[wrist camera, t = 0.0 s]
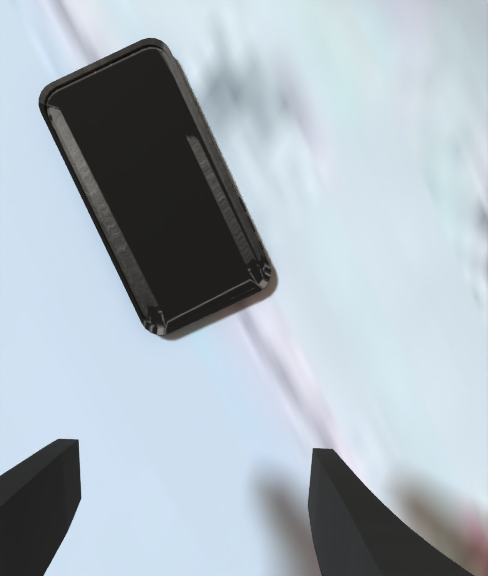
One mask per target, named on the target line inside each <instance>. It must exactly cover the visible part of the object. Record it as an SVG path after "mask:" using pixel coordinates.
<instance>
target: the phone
mask: <svg viewBox="0 0 488 576" xmlns="http://www.w3.org/2000/svg"><path fill="white" fill-rule="evenodd" d="M39 108H40V111H41V114H42V116H43V118H44V120H45V122H46V124H47V126H48V128H49V130H50V133H51V135H52V137H53V139H54V141H55V143H56V145H57V147H58V149H59V151H60V153H61V156H62V158H63V160H64V162H65V164H66V166H67V168H68V170H69V172H70V174H71V176H72V179H73V181H74V183H75V185H76V187H77V189H78V191H79V193H80V195H81V197H82V199H83V201H84V204H85V206H86V208H87V210H88V212H89V214H90V216H91V218H92V220H93V222H94V224H95V227H96V229H97V231H98V233H99V235H100V237H101V239H102V241H103V243H104V245H105V247H106V250H107V252H108V254H109V256H110V258H111V260H112V262H113V264H114V266H115V268H116V270H117V272H118V275H119V277H120V279H121V281H122V283H123V285H124V287H125V289H126V291H127V293H128V295H129V298H130V300H131V302H132V304H133V306H134V308H135V310H136V312H137V314H138V316H139V318H140V321H141V323H142V324H143V326H144V327H145V329H147V330H148V331H149V332H151V333H153V334H156V335H166V334H169V333H171V332H174V331H176V330H178V329H180V328H182V327H184V326H187V325H189V324H191V323H193V322H195V321H197V320H199V319H202V318H204V317H206V316H208V315H210V314H212V313H214V312H217V311H219V310H221V309H223V308H225V307H227V306H230V305H232V304H234V303H236V302H238V301H240V300H242V299H245V298H247V297H249V296H251V295H253V294H255V293H257V292H259V291H261V290H262V289H264V288H265V287H266V285H267V284H268V282H269V280H270V277H271V269H270V266H269V263H268V261H267V259H266V256H265V254H264V252H263V248H262V246H261V244H260V241H258V239H257V237H256V235H255V233H254V232H255V230H254V228H253V226H252V223H251V221H250V219H249V217H248V216H247V215H246V213H245V212H246V210H245V207H244V205H243V203H242V201H241V199H240V197H239V198H238V196H237V194H236V192H235V189H234V187H233V185H232V183H231V181H230V179H229V176H228V174H227V172H226V170H225V168H224V166H223V163H222V161H221V159H220V157H219V155H218V153H217V150H216V148H215V146H214V144H213V142H212V140H211V137H210V135H209V133H208V131H207V129H206V127H205V124H204V122H203V120H202V118H201V116H200V114H199V111H198V109H197V107H196V105H195V103H194V101H193V99H192V96H191V94H190V92H189V90H188V88H187V86H186V83H185V81H184V79H183V77H182V75H181V73H180V70H179V68H178V66H177V64H176V62H175V60H174V57H173V55H172V53H171V51H170V49H169V48H168V46H167V45H166V44H165V43H164V42H162V41H161V40H158V39H155V38H146V39H143V40H140V41H138V42H136V43H134V44H132V45H130V46H128V47H126V48H123V49H121V50H119V51H117V52H115V53H113V54H111V55H109V56H107V57H104V58H102V59H100V60H98V61H96V62H94V63H92V64H90V65H88V66H85V67H83V68H81V69H79V70H77V71H75V72H73V73H71V74H69V75H67V76H64V77H62V78H60V79H58V80H56V81H54V82H52V83H50V84H48V85H47V86H46V87H45V88H44V89H43V90H42V92H41V94H40V97H39Z"/></svg>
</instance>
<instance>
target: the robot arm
mask: <svg viewBox="0 0 488 576" xmlns="http://www.w3.org/2000/svg"><path fill="white" fill-rule="evenodd" d="M80 500H81V482H80V461H79V441H78V440H77V439H57V440H56V441H54V442H52V443H50V444H49V445H47V446H46V447H44V448H42V449H41V450H39V451H38V452H36V453H35V454H33V455H32V456H30V457H29V458H27V459H26V460H24V461H22V462H21V463H19V464H18V465H16V466H15V467H13V468H12V469H10V470H8V471H7V472H5V473H4V474H2V475H1V476H0V576H43V575H44V574H45V572H46V570H47V568H48V566H49V565H50V563H51V561H52V559H53V557H54V556H55V554H56V552H57V550H58V548H59V547H60V545H61V543H62V541H63V539H64V537H65V535H66V534H67V532H68V529H69V527H70V525H71V522H72V520H73V518H74V515H75V513H76V510H77V507H78V505H79V502H80ZM308 511H309V518H310V525H311V532H312V538H313V543H314V547H315V551H316V555H317V559H318V563H319V567H320V571H321V574H322V576H474V575H472V574H471V573H469V572H468V571H466V570H465V569H463V568H462V567H461V566H459V565H458V564H456V563H455V562H453V561H452V560H451V559H449V558H448V557H446V556H445V555H443V554H442V553H441V552H439V551H438V550H437V549H435V548H434V547H433V546H431V545H430V544H429V543H428V542H426V541H425V540H424V539H423V538H422V537H420V536H419V535H418V534H417V533H415V532H414V531H413V530H412V529H410V528H409V527H408V526H407V525H406V524H405V523H403V522H402V521H401V520H400V519H399V518H398V517H397V516H396V515H395V514H394V513H393V512H392V511H390V510H389V509H388V508H387V507H386V506H385V505H384V504H383V503H382V502H381V501H380V500H379V499H378V498H377V497H376V496H375V495H374V494H373V493H372V492H371V491H370V490H369V489H368V488H367V487H366V486H365V485H364V484H363V482H362V481H361V480H360V479H359V478H358V477H357V476H356V475H355V474H354V472H353V471H352V470H351V469H350V468H349V467H348V466H347V465H346V463H345V462H344V461H343V460H342V459H341V458H340V457H339V455H338V454H337V453H336V452H335V451H334V450H333V449H321V448H313V453H312V465H311V476H310V487H309V499H308Z"/></svg>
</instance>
